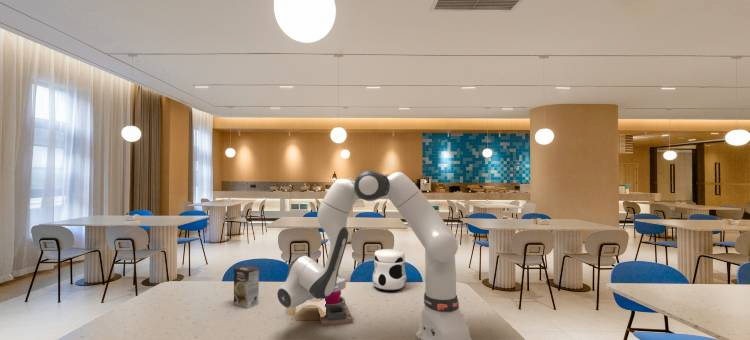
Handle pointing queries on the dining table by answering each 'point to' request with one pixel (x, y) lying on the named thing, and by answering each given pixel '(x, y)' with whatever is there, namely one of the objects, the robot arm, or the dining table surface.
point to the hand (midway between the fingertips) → (333, 276)
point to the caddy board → (336, 314)
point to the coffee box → (246, 286)
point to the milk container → (389, 270)
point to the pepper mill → (333, 298)
